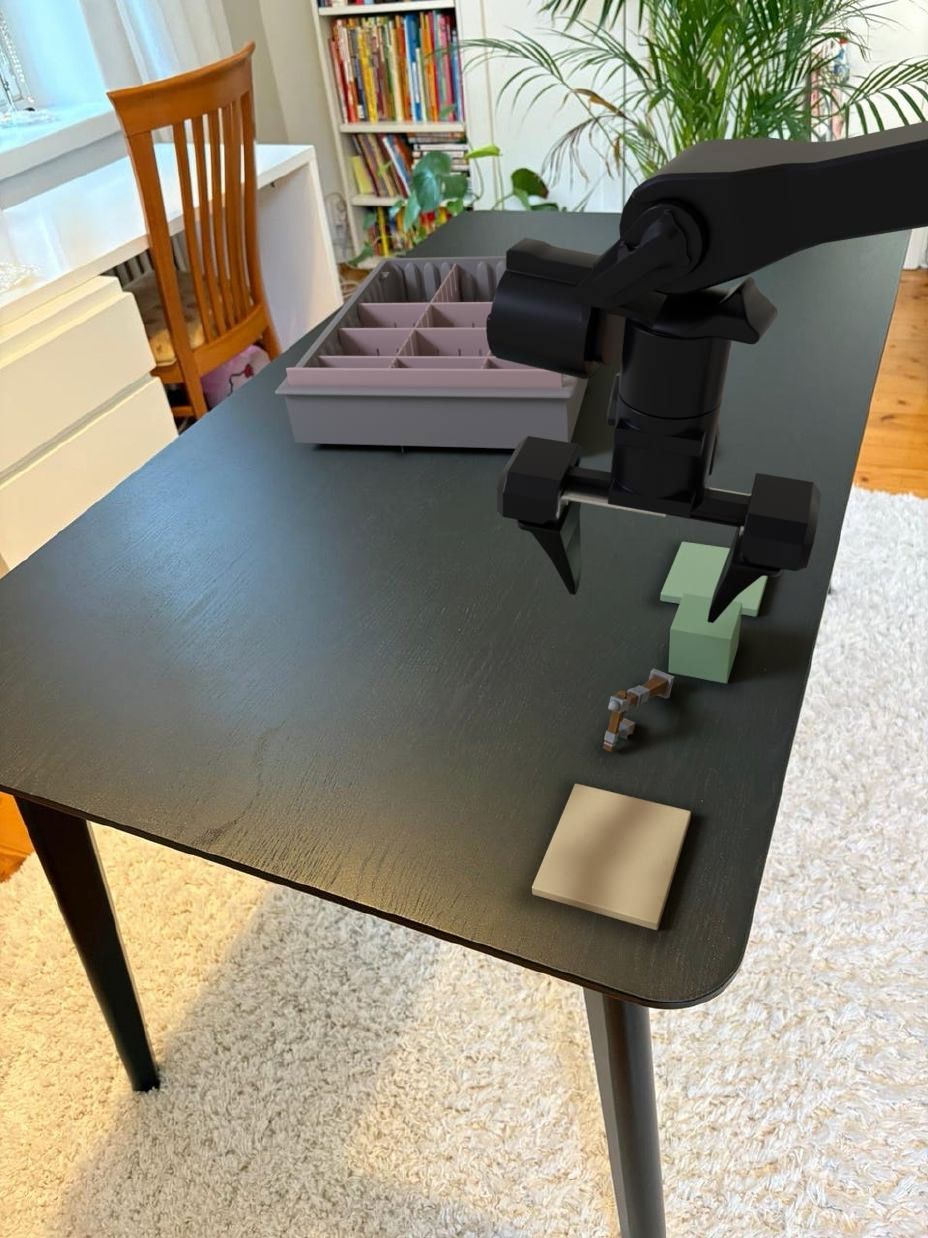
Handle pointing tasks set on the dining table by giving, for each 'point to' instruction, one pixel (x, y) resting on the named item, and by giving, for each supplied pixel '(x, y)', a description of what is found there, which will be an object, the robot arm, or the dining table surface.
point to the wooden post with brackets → (634, 696)
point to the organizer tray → (424, 366)
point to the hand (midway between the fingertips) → (641, 604)
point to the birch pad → (613, 855)
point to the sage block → (704, 639)
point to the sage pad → (706, 577)
